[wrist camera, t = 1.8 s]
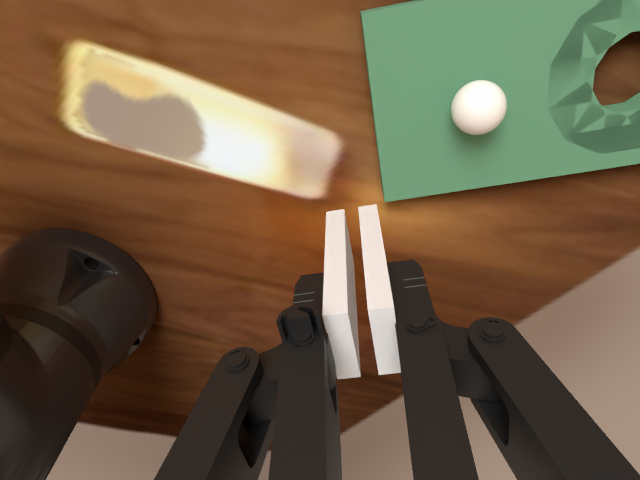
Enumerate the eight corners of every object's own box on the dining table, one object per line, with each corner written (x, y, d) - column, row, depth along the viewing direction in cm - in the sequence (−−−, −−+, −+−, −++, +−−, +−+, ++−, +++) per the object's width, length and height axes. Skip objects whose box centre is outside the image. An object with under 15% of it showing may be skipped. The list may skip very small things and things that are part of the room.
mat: (382, 191, 38) (387, 216, 34) (359, 11, 31) (363, 17, 27) (702, 142, 35) (746, 163, 31) (759, -71, 28) (824, -77, 24)
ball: (447, 129, 33) (458, 146, 30) (445, 80, 31) (456, 92, 28) (496, 121, 33) (513, 137, 30) (497, 70, 31) (515, 81, 28)
